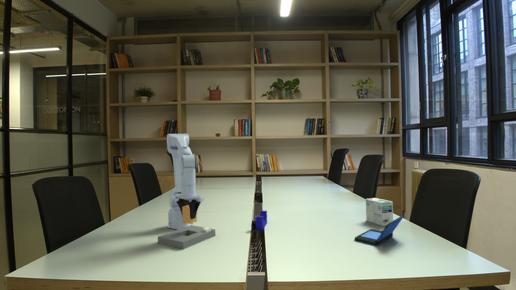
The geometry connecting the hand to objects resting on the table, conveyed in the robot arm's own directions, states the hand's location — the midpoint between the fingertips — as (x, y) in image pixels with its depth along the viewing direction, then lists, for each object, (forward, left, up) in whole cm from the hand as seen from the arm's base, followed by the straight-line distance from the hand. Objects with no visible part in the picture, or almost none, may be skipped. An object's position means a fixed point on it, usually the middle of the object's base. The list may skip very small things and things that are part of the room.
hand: (189, 217), depth 118 cm
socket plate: (0, -1, -8) cm, 8 cm away
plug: (0, 0, -2) cm, 2 cm away
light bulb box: (+63, +60, -9) cm, 87 cm away
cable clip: (+16, +29, -9) cm, 34 cm away
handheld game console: (+67, +35, -9) cm, 76 cm away
